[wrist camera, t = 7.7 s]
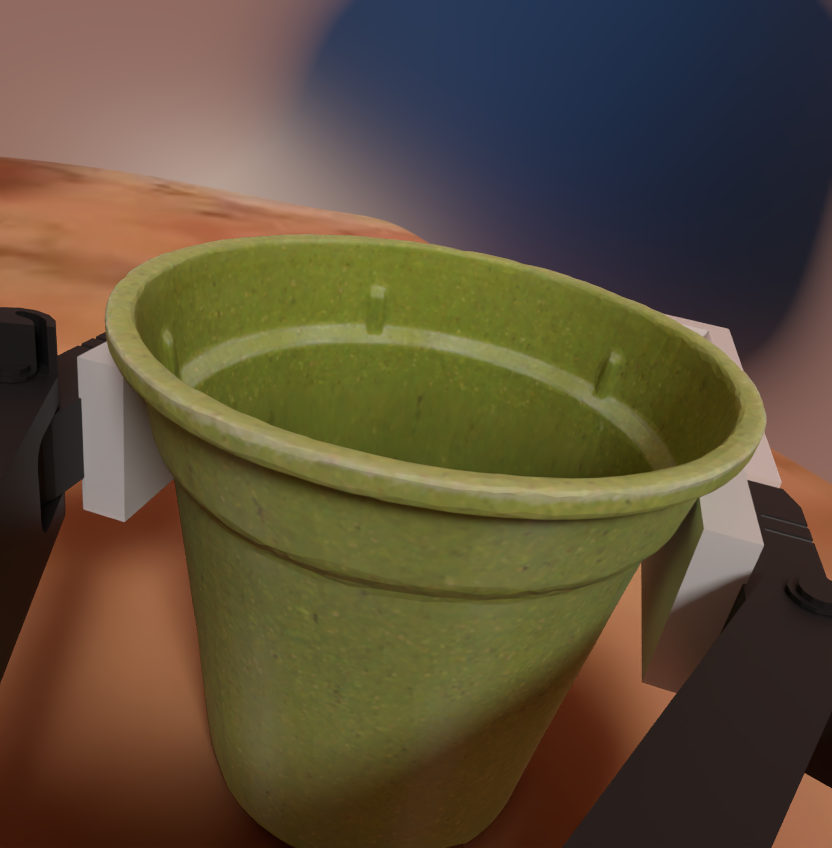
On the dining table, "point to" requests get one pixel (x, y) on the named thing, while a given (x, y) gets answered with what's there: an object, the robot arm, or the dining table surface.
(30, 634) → the dining table surface
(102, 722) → the dining table surface
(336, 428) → the plant pot
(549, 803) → the dining table surface
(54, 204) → the dining table surface
